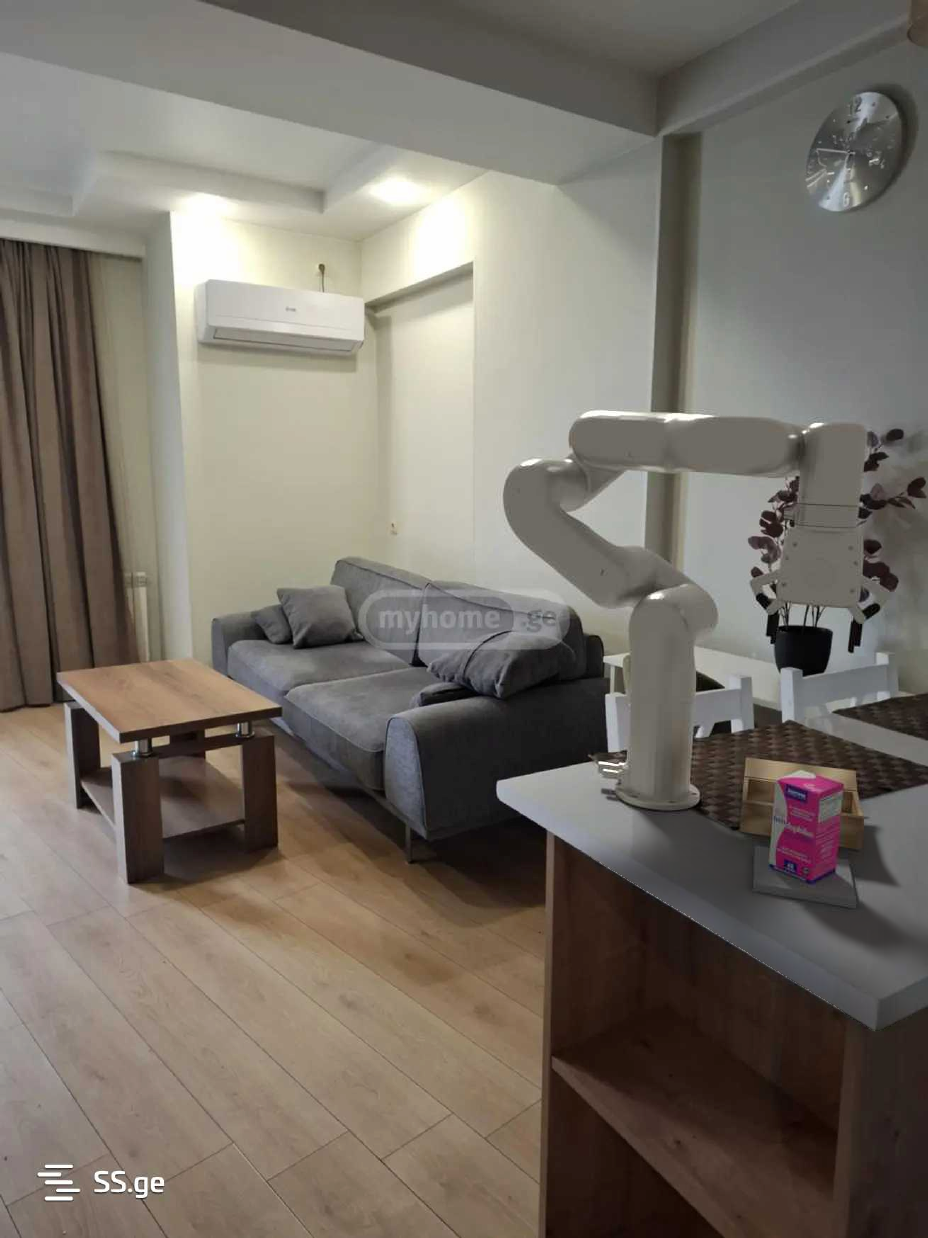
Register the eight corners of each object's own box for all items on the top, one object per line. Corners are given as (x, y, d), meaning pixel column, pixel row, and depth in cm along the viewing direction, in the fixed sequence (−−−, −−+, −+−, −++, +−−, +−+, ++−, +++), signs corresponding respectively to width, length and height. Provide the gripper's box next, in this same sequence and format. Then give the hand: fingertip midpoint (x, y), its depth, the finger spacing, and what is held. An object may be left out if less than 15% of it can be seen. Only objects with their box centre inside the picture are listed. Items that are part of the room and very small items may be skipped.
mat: (752, 890, 98) (753, 882, 97) (754, 853, 108) (755, 845, 108) (855, 908, 94) (856, 900, 94) (847, 867, 104) (848, 860, 104)
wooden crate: (738, 843, 111) (741, 799, 110) (743, 795, 128) (746, 757, 127) (864, 863, 105) (869, 817, 104) (851, 810, 123) (855, 770, 122)
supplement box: (766, 867, 101) (773, 777, 100) (793, 855, 105) (801, 768, 103) (810, 886, 97) (819, 792, 95) (837, 873, 100) (846, 782, 99)
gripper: (753, 516, 109) (741, 644, 112) (901, 524, 102) (884, 660, 105) (759, 514, 116) (747, 635, 119) (898, 522, 109) (881, 650, 112)
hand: (811, 646), depth 112 cm, fingers open, 9 cm apart
